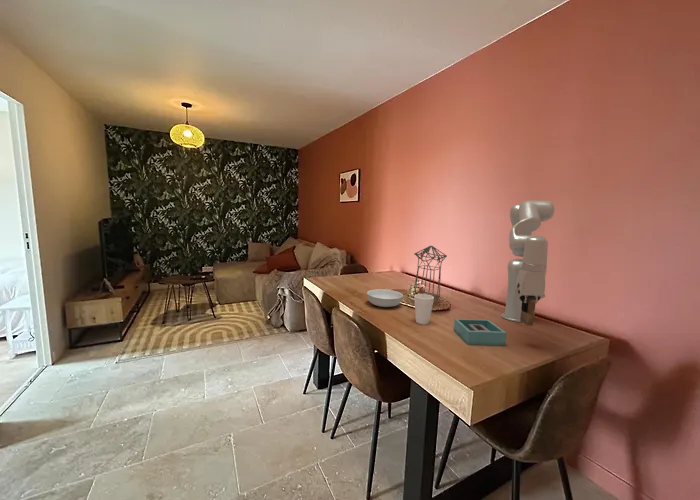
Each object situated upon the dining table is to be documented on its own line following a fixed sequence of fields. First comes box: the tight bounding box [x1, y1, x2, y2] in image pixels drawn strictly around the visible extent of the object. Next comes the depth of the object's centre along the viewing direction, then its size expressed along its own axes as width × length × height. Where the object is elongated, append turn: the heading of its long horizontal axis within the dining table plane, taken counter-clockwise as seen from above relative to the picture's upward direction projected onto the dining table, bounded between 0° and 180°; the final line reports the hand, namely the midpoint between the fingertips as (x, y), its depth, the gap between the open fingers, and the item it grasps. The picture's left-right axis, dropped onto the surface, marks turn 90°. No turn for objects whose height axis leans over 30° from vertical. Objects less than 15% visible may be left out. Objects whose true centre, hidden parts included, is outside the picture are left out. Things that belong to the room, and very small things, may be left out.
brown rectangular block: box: [520, 296, 537, 326], centre depth 130 cm, size 2×5×12 cm, turn 1°
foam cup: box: [413, 293, 435, 325], centre depth 155 cm, size 10×9×13 cm
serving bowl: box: [366, 288, 404, 308], centre depth 182 cm, size 21×21×7 cm
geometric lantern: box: [412, 245, 448, 301], centre depth 189 cm, size 16×16×35 cm
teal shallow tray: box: [453, 318, 508, 346], centre depth 138 cm, size 16×16×6 cm
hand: (527, 311), depth 130 cm, fingers closed on brown rectangular block, 2 cm apart
